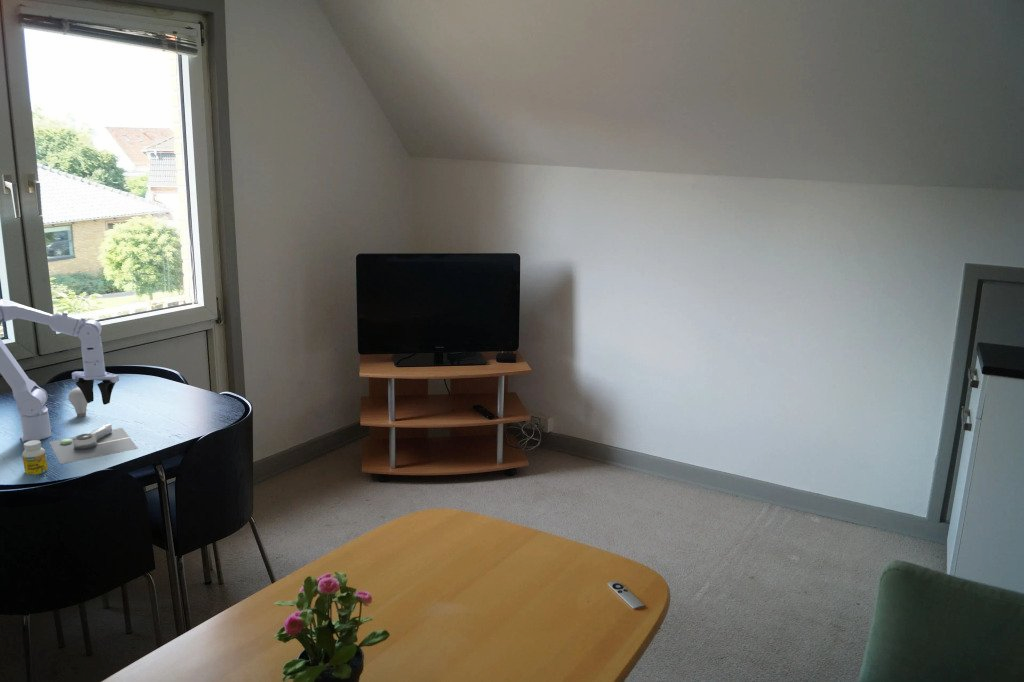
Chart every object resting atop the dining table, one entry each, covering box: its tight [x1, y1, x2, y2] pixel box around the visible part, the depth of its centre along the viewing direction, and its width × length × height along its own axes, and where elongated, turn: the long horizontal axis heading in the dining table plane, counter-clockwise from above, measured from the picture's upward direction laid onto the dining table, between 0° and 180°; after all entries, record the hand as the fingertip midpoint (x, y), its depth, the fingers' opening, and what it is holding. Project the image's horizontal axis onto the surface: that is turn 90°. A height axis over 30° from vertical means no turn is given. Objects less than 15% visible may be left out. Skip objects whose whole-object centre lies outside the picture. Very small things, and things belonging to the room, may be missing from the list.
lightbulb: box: [67, 386, 89, 418], centre depth 256 cm, size 6×6×11 cm
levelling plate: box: [48, 427, 139, 465], centre depth 233 cm, size 20×20×2 cm
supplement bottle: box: [21, 440, 49, 476], centre depth 215 cm, size 5×5×10 cm
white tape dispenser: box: [73, 423, 113, 450], centre depth 236 cm, size 14×6×3 cm, turn 173°
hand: (98, 402), depth 243 cm, fingers open, 5 cm apart
